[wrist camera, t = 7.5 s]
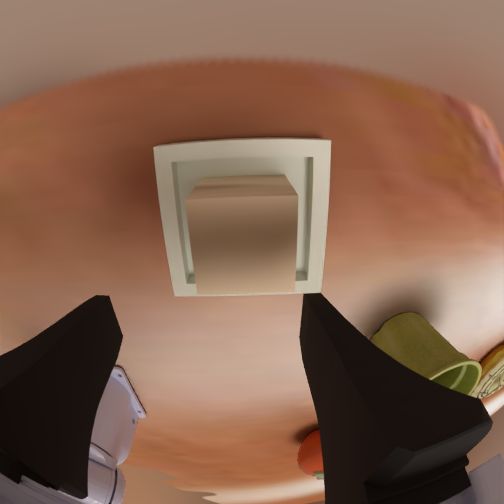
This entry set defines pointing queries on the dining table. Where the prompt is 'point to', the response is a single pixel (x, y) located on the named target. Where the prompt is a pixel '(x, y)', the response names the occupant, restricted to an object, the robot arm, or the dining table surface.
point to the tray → (241, 164)
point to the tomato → (311, 455)
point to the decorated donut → (491, 374)
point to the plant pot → (427, 352)
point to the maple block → (243, 234)
